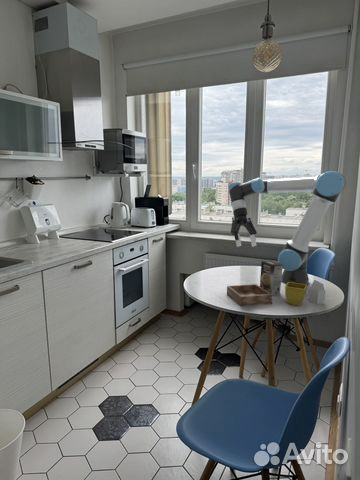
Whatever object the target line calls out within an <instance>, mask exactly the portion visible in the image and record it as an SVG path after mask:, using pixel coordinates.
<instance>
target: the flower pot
mask: <svg viewBox="0 0 360 480" xmlns="http://www.w3.org/2000/svg"><path fill="white" fill-rule="evenodd" d="M285 284H286V285H285V286H284V290H285V291H284V292H285V293H284V294H285V300H286V302H287V303H288V304H289V305H293V306H298V307H300V306H301V304H302V303H303V300H304V299H305V296H306V293H307V287H308V284H300V283H294V282H288V283H285Z"/></svg>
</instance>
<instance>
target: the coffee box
mask: <svg viewBox="0 0 360 480" xmlns="http://www.w3.org/2000/svg"><path fill="white" fill-rule="evenodd" d="M282 273H283V264H280V263H279V262H278V261H274V260H270V259H269V260H262V261H261V266H260V277H259V279H260V280H259V286H260V287H262V288H263V289H265V290H266V291H268V292H269V293H271V294H272V297H275V296H279V295H281V287H282V281H281V279H282Z"/></svg>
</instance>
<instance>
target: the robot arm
mask: <svg viewBox="0 0 360 480" xmlns="http://www.w3.org/2000/svg"><path fill="white" fill-rule="evenodd" d="M346 185H347V181H346V178H345V176H344V175H343V174H342V173H341V172H338V171H334V170H328V171H325V172H323V173H321V174H317V175H316V176H311V177H298V178H295V177H294V178H280V179H279V178H278V179H276V178H274V179H262V178H261V177H257V178H254V179H251V180H249V181H246V182H244V183H242V182H241V181H232V182H230V183H229V184H228V186H227V187H228V194H229V199H230V203H231V208H232V210H233V211H232V214H233V217H232V216H231V228H230V234H231V235H232V236H234V240H235V244H236V245H235V246H236V248H238V247H241V246H242V241H241V236H240V233H239V231H240V229H241V226H242V227H243V228H245V229H246V230H247V232H248V233H249V239H250V243H251V247H252V248H253V247H257V241H256V240H257V239H256V234H257V233H258V232H257V230H256V228H255V226H254V224H253V223H252V219H251V217H247V216H248V210H247V205H246V201H245V197H249V196H252V195H257V194H274V193H275V194H276V193H277V194H279V193H281V194H282V193H306V192H311V195H312V198H311V201H310V203H309V205H308V207H307V209H306V211H305V213H304V215H303V217H302V219H301V221H300V222H299V224H298V227H297V228H296V231H295V232H294V234H293V237H292V238H291V239H289V240H287V242H286V244H285V245H284V247H283V249H282V250H281V252H279V253H278V254H279V255H278V257H277V263H280V264H283V268H282V279H281V283H282V282H283V283H284V284H287V283H288V282H294V283H300V284H307V285H308V284H309V282H310V278H309V275H308V274H309V273H308V271H307V269H308V268H307V267H308V257H309V250H310V248H309V247H310V246H309V245H310V243H311V241H312V239H313V237H314V235H315V233H316V231H317V230H318V228H319V226H320V224H321V222H323V221H322V220H323V219H324V217H325V215H326V213H327V212H328V210H329V208H330V205H332V204H335V203H336V201H337V200H338V198H339V196H340V194H341V193H342V192H343V191H344V190H345V188H346Z"/></svg>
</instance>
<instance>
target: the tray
mask: <svg viewBox="0 0 360 480" xmlns="http://www.w3.org/2000/svg"><path fill="white" fill-rule="evenodd" d="M226 296H228V297H229V298H230V299H232V301H233V302H235V303H236V304H237V305H238V306H240V307H248V306H249V307H250V306H261V305H270V304H271V305H272V304H273V296H272V294H271V293H269V292H268V291H266V290H265V289H263V288H262V287H260V285H259V284H257V283H250V284H248V283H247V284H238V285H236V284H235V285H226Z"/></svg>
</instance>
